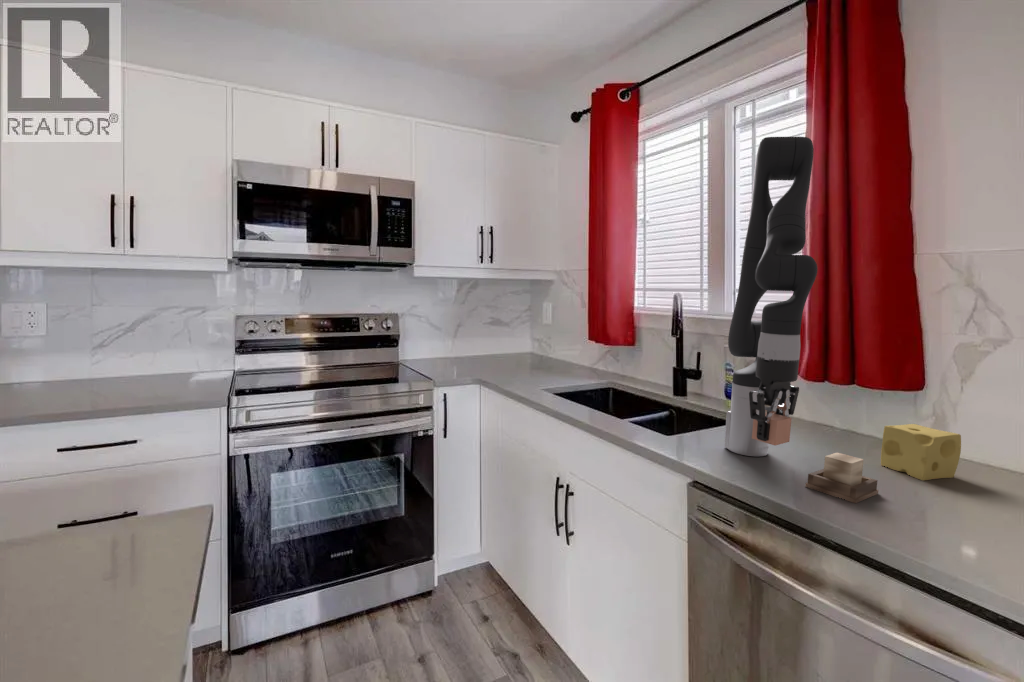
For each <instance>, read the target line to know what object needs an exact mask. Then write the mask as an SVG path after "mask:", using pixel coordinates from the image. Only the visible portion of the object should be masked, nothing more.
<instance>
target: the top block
mask: <svg viewBox="0 0 1024 682" xmlns="http://www.w3.org/2000/svg"><path fill="white" fill-rule="evenodd" d="M766 414H767V412H765V416H766ZM792 419H793V418H792V417H790V416H789V417H786V416H782V415H778V414H774V413H773V414H772V417H771V420H770V431H769V440H768V441H762V440H759V439H757V425H758V421H757V420H755V419H753V430H752V439H755V440H758V441H762V442H765V443H768V445H770V446H771V445H772V446H780V445H783V444H786V443H790V439H791V437H790V436H791V430H792V429H791V428H792Z"/></svg>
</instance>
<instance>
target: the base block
mask: <svg viewBox="0 0 1024 682" xmlns="http://www.w3.org/2000/svg"><path fill="white" fill-rule="evenodd" d="M864 461H865V460H864V458H860V457H857V456H856V457H855V456H852V455H850V454H849V455H848V454H845V453H841V452H834V453H831V454H827V455H825V456H824V464H823V465H824V466H823V469H824V473H823V477H825V478H829V479H832V480H835V481H838V482H842V483H845V484H848V485H851V486H854V485H857V484H860V483H861V481H862V476H863V471H864V469H863V468H864Z"/></svg>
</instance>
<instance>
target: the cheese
mask: <svg viewBox="0 0 1024 682" xmlns="http://www.w3.org/2000/svg"><path fill="white" fill-rule="evenodd" d="M881 441H882V443H881V450H880V451H881V452H880V465H881V466H882V467H884V466H885V467H884V468H887V467H888V468H887V469H891V470H893V471H897V472H901V473H906V474H907V475H908V476H909V475H910V476H909V477H912V478H915V479H918V480H920V481H924V482H925V481H928V480H936V479H948V478H949V479H952V478H955V474H956V472H957V469H958V465H959V463H960V457H961V454H962V453H961V451H962V435H961V434H960V433H956V432H952V431H951V432H950V431H946V430H941V429H935V428H932V427H927V426H924V425H919V424H916V423H908V424H898V425H896V424H895V425H884V428H883V433H882V440H881Z"/></svg>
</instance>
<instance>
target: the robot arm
mask: <svg viewBox="0 0 1024 682" xmlns="http://www.w3.org/2000/svg"><path fill="white" fill-rule="evenodd" d="M813 162H814V144H813V141H812V140H811V138H809V137H808V136H767V137H763V138H762V139H761V141H760V142H759V144H758V147H757V151H756V156H755V164H754V171H753V174H754V175H753V183H752V194H751V195H752V196H751V205H750V212H749V219H748V224H747V228H746V230H747V231H746V236H745V240H744V246H743V252H742V259H741V260H742V261H741V268H740V275H739V276H740V277H739V284H738V291H737V295H736V296H737V297H736V301H735V306H734V309H733V313H732V317H731V322H730V325H729V332H728V336H727V337H728V340H727V344H728V345H727V346H728V350H729V352H730V354H731V355H732V356H733V357H737V358H738V357H740V358H755V359H754V361H753V362H752V363H751V364H749V365H747V366H746V367H743V368H740V369H737V370H735V371H734V372H733V374H732V380H731V381H732V386H731V397H730V398H731V399H730V410H728V411H726V419H725V431H724V432H725V433H724V449H728V450H729V451H730V452H732V453H734V454H736V455H737V454H738V455H742V456H748V457H765V456H767V455H768V452H769V444H768V443H765V442H762V441H768V440H769V431H770V420H771V417H772V414H773V413H774V414H778V415H782V416H786V417H790V416H794V414H795V411H796V410H795V409H796V405H797V402H798V398H799V397H798V396H799V392H800V387H799V386H796V385H792V384H791V383H792V382H793V383H794V382H797V380H798V377H799V368H800V367H799V365H800V358H801V357H800V356H801V329H802V322H803V321H802V320H803V314H804V309H805V306H806V303H807V302H806V301H807V299H808V297H809V294H810V292H811V289H812V288H813V285H814V283H815V281H816V278H817V274H818V263H817V261H816V260H815V259H814V257H812V256H811V255H808V254H797V253H800V251H802V250H803V249H804V247H805V245H806V237H807V236H806V235H807V233H806V212H807V211H806V210H807V203H808V198H809V197H808V196H809V192H810V191H809V190H810V185H811V177H812V176H811V175H812V170H813V164H814V163H813ZM770 181H787V182H788V181H793V182H792V183H791V185H790V187H789V188H788V189H787V191H786V192H785V193H784V194H783V195H782V196H781V197H780V198H779V199H778V200H777V201H776V202H775V204H774V205H773V202H772V199H771V196H770V194H771V193H770V187H769V185H770V184H769V183H770ZM767 291H771V292H772V291H775V292H777V291H778V292H779V291H780V292H781V291H782V292H793V293H792V295H791V296H790V297H789V298H788V299H786V300H784V301H776V302H770V303H767V304H765V305H764V306H763V309H762V311H761V320H758V319H757V320H756V319H754V320H753V315H754V312H755V309H756V307H757V305H758V304H759V301H760V300H761V298H762V297H763V296H764V295H765V293H767ZM765 412H767V414H766V416H765ZM753 419H755V420H757V421H758V425H757V439H759V440H762V441H758V440H755V439H752V430H753Z"/></svg>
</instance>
